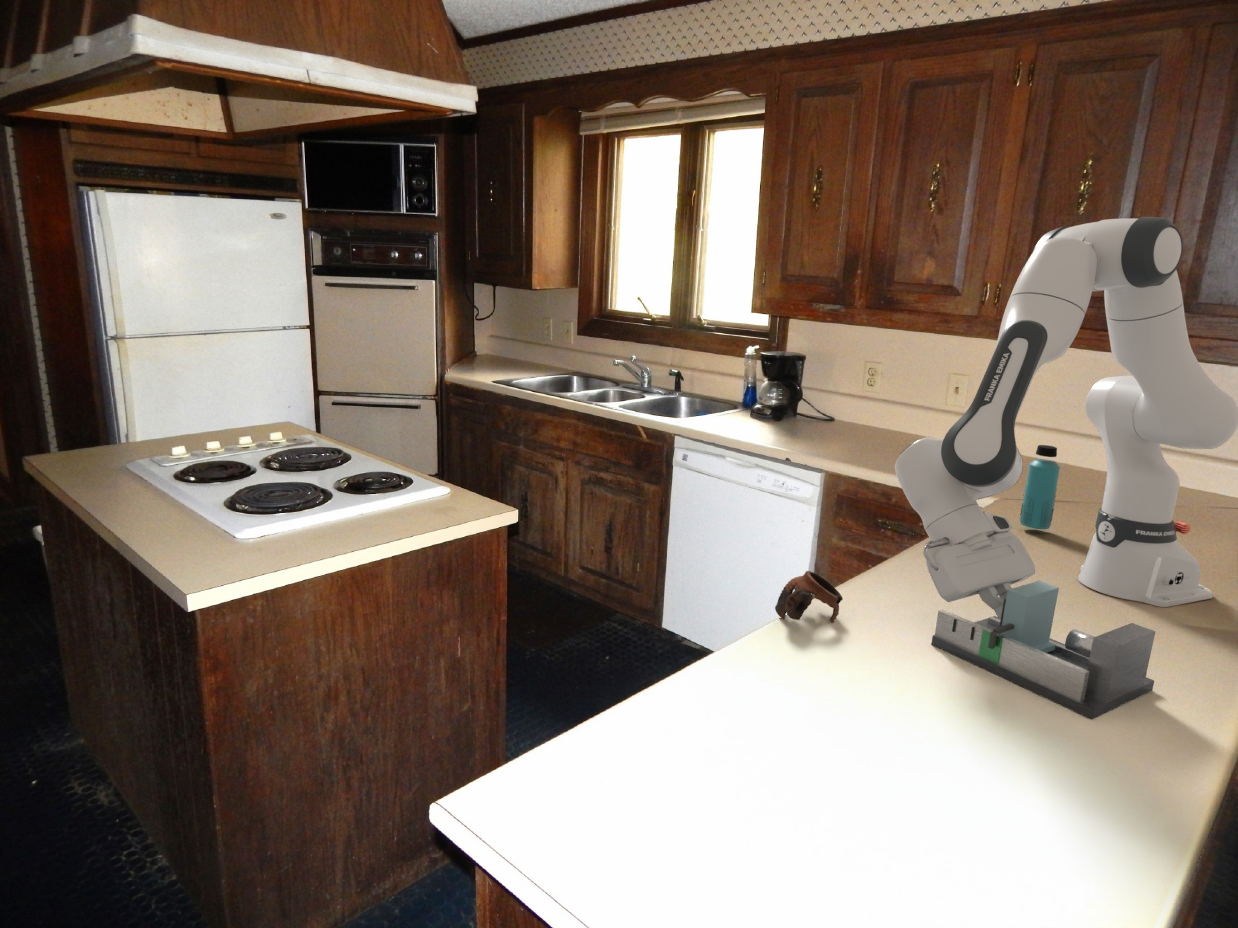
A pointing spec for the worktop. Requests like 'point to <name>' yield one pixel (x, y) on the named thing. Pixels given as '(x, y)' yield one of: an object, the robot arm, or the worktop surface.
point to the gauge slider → (1028, 615)
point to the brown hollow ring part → (807, 596)
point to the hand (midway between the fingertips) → (1010, 616)
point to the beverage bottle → (1040, 490)
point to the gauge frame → (1058, 662)
